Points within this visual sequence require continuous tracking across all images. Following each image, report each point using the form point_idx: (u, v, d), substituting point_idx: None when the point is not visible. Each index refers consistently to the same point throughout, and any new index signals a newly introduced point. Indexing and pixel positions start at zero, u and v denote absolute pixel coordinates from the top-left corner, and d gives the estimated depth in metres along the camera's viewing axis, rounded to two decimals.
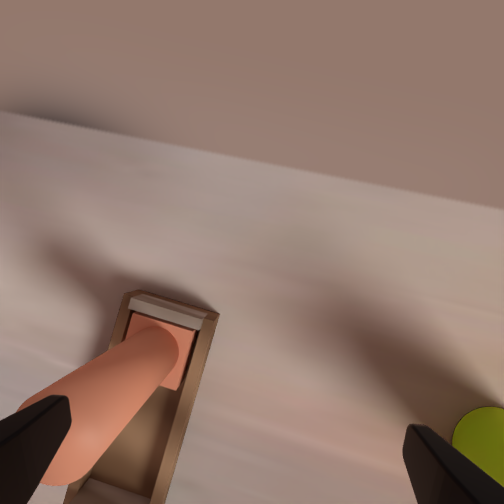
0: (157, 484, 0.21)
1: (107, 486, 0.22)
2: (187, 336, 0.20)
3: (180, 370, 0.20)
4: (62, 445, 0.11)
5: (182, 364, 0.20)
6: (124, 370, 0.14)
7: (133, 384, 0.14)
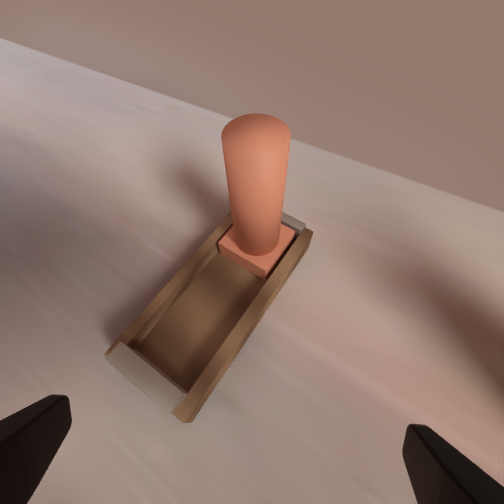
0: (214, 359, 0.19)
1: (150, 361, 0.20)
2: (289, 233, 0.23)
3: (275, 256, 0.22)
4: (260, 139, 0.14)
5: (278, 251, 0.22)
6: None
7: None
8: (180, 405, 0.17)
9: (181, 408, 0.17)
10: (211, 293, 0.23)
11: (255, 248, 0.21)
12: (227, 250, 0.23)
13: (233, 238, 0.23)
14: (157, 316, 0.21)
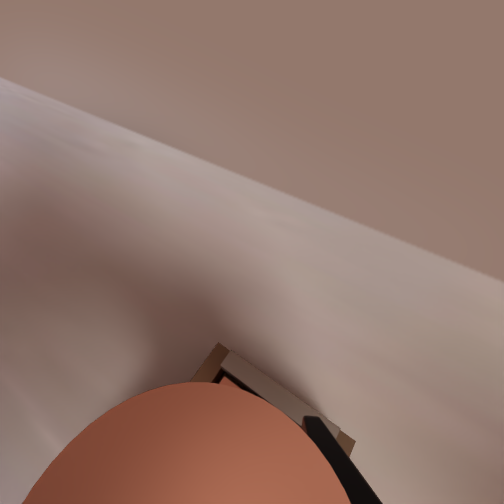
0: None
1: None
2: None
3: None
4: None
5: None
6: None
7: None
8: None
9: None
10: None
11: None
12: None
13: None
14: None
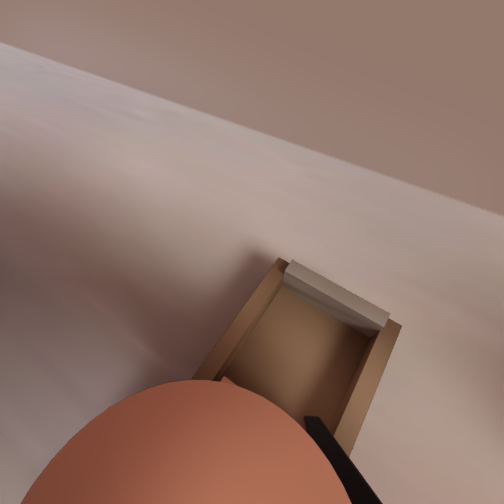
0: None
1: None
2: None
3: None
4: None
5: None
6: None
7: None
8: None
9: None
10: None
11: None
12: None
13: None
14: None
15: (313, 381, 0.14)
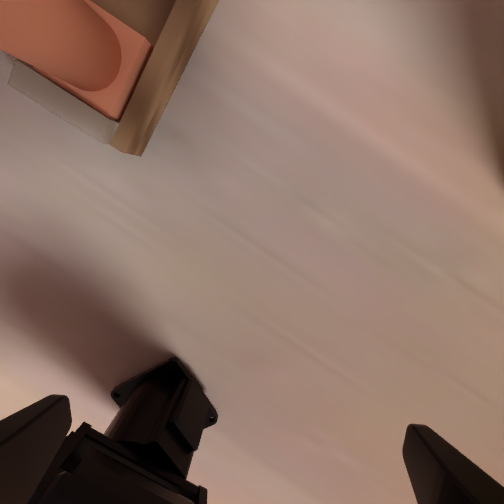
0: (142, 81, 0.15)
1: None
2: (136, 42, 0.14)
3: (119, 90, 0.15)
4: None
5: (123, 82, 0.15)
6: None
7: None
8: (115, 135, 0.16)
9: (116, 138, 0.16)
10: None
11: (77, 84, 0.14)
12: None
13: None
14: None
15: None
